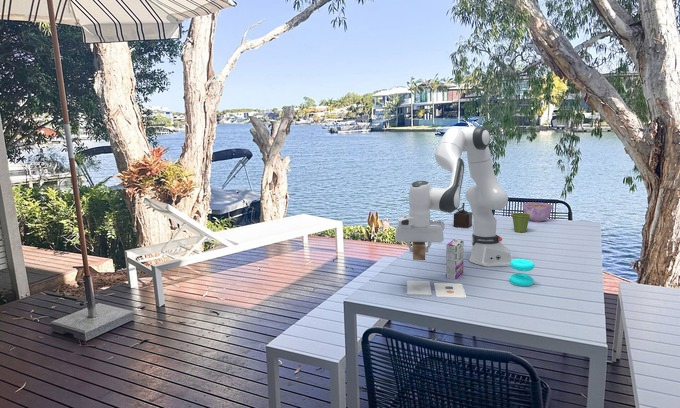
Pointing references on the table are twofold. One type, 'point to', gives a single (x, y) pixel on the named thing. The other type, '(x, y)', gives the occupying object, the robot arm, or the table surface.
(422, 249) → the walnut block
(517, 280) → the donuts
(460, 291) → the plate
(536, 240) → the table surface
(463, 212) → the manual coffee grinder
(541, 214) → the bowl of food
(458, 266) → the candy bar box
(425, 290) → the grey mat
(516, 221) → the plant pot
